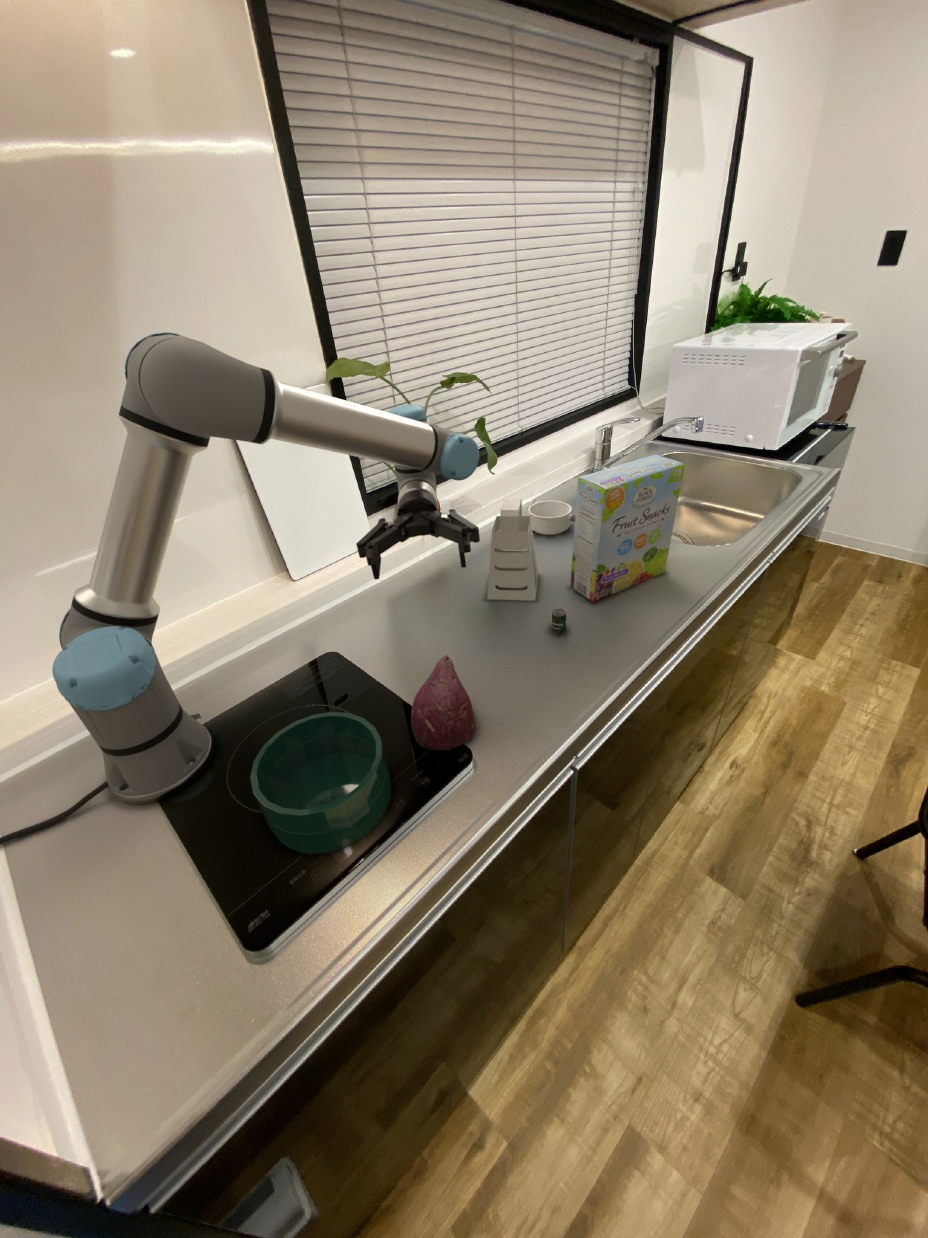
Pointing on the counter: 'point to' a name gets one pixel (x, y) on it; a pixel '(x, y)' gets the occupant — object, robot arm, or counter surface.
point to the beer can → (558, 621)
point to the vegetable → (442, 710)
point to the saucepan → (550, 517)
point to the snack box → (624, 525)
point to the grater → (512, 554)
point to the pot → (322, 782)
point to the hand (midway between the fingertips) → (418, 566)
